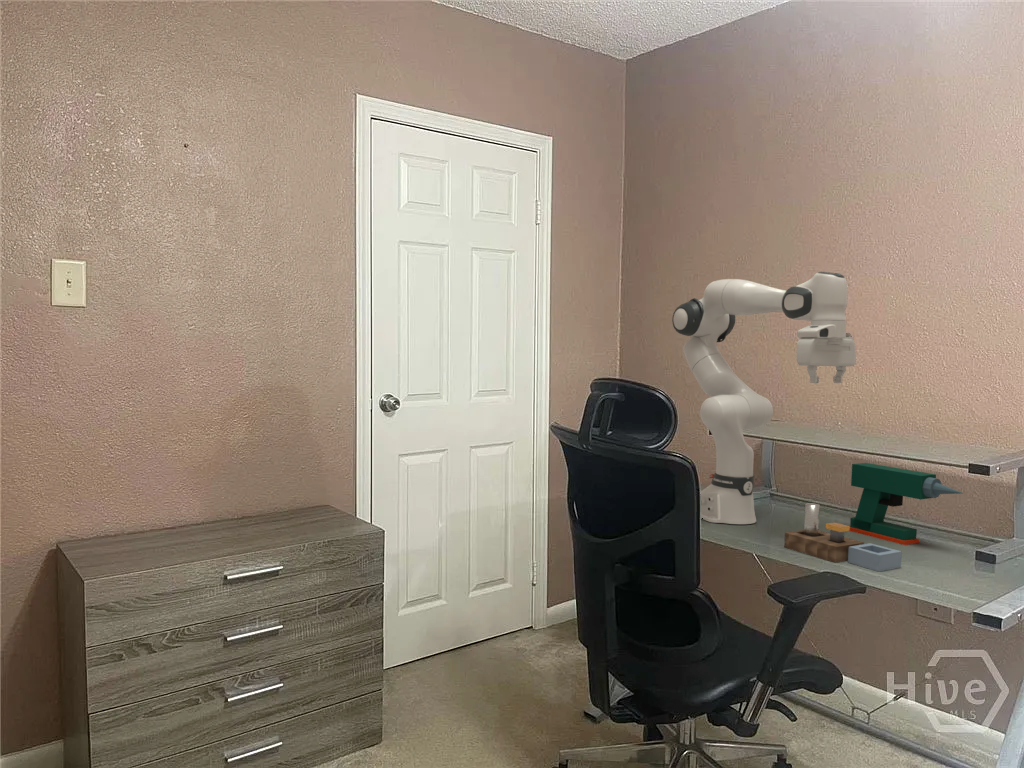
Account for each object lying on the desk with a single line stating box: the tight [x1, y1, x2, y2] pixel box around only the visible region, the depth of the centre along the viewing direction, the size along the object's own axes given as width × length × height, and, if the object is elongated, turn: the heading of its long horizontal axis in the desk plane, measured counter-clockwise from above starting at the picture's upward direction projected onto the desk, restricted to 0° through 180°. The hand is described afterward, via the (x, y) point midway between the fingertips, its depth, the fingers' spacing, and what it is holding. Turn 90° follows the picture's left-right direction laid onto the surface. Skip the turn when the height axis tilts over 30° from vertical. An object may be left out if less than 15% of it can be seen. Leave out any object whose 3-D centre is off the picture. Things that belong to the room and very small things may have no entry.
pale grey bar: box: [803, 502, 821, 537], centre depth 207 cm, size 4×4×12 cm
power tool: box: [848, 462, 963, 546], centre depth 217 cm, size 32×7×20 cm, turn 30°
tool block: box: [784, 529, 865, 564], centre depth 204 cm, size 16×11×4 cm
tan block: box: [825, 522, 850, 543], centre depth 200 cm, size 4×4×5 cm
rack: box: [847, 543, 903, 573], centre depth 193 cm, size 9×9×4 cm
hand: (826, 383), depth 209 cm, fingers open, 8 cm apart
